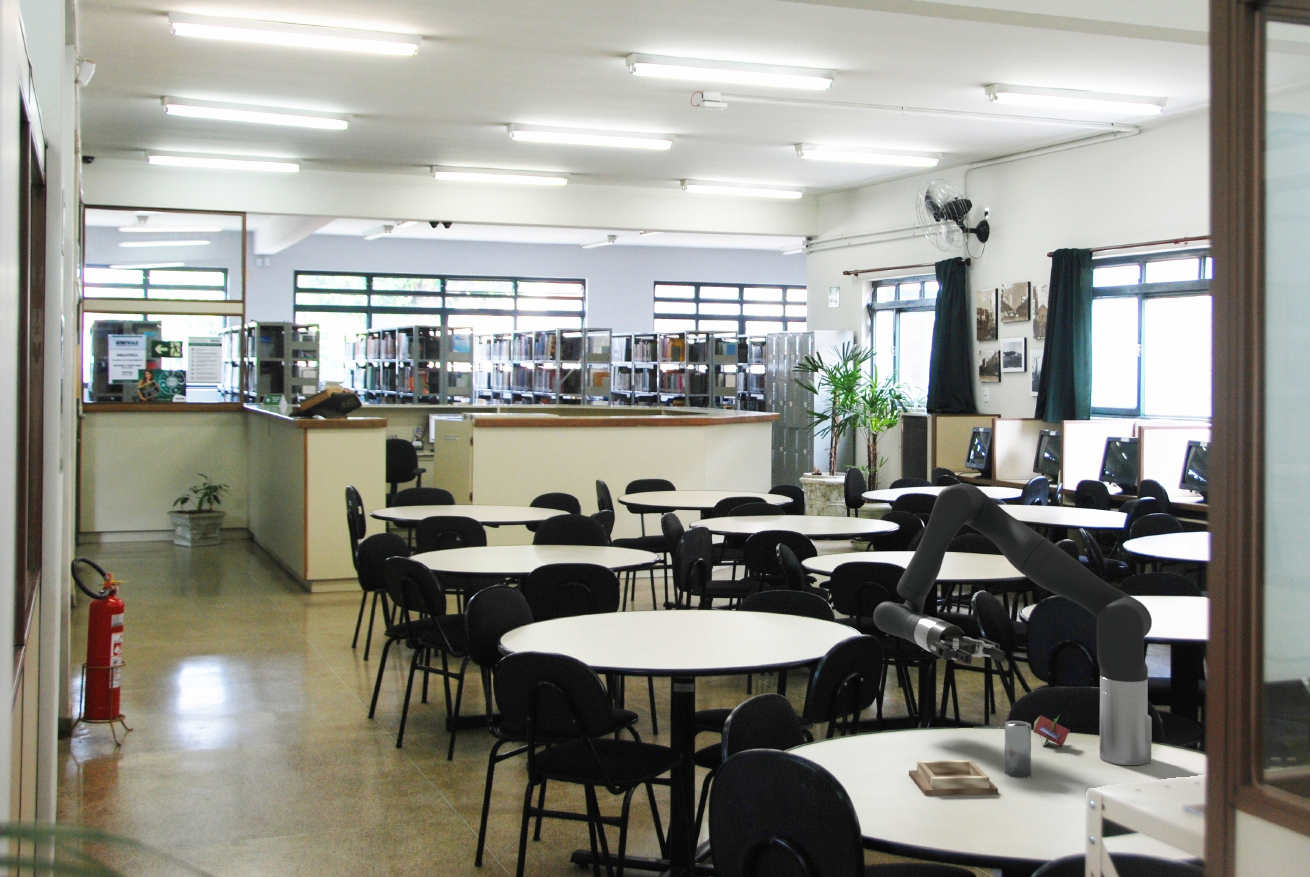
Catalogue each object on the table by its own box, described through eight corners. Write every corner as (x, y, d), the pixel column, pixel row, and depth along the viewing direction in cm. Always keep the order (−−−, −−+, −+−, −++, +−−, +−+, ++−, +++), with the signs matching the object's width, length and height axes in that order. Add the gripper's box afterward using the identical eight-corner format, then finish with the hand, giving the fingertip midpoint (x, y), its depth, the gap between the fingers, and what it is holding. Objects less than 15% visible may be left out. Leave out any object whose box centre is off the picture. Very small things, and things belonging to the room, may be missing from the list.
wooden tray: (978, 774, 235) (978, 759, 235) (998, 793, 223) (998, 778, 223) (908, 775, 235) (908, 760, 235) (924, 795, 223) (924, 779, 223)
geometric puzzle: (1079, 735, 255) (1057, 703, 258) (1072, 742, 250) (1049, 710, 252) (1052, 750, 258) (1031, 719, 261) (1045, 758, 253) (1022, 726, 255)
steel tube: (1025, 769, 238) (1025, 720, 238) (1034, 777, 233) (1034, 726, 233) (1001, 769, 238) (1001, 720, 238) (1009, 777, 233) (1009, 727, 233)
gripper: (913, 622, 256) (960, 642, 241) (967, 619, 262) (1016, 638, 247) (911, 655, 257) (957, 678, 242) (964, 652, 262) (1012, 673, 248)
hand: (987, 658), depth 244 cm, fingers open, 8 cm apart
